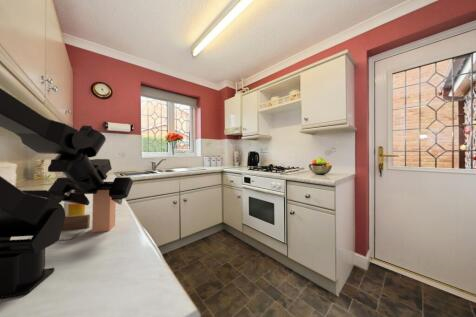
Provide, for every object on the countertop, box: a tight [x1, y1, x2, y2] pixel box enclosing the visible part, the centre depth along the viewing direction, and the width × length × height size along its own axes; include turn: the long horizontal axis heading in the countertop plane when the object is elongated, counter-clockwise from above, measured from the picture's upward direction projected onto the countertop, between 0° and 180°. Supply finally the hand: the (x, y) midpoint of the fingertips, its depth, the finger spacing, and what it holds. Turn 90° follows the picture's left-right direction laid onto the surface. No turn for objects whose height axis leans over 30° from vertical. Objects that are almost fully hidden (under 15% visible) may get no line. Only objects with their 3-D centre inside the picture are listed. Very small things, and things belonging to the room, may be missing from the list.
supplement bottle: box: [63, 201, 86, 216], centre depth 62 cm, size 5×5×10 cm
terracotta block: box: [91, 190, 117, 233], centre depth 55 cm, size 4×4×13 cm
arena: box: [58, 214, 91, 242], centre depth 50 cm, size 9×9×4 cm
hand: (104, 203), depth 55 cm, fingers open, 9 cm apart
